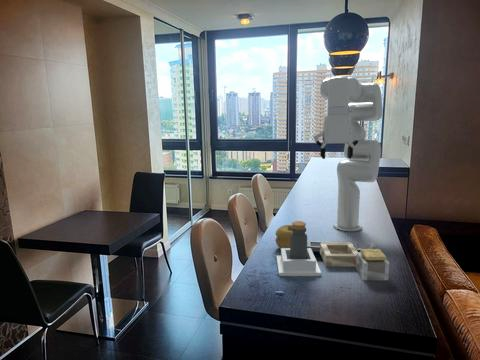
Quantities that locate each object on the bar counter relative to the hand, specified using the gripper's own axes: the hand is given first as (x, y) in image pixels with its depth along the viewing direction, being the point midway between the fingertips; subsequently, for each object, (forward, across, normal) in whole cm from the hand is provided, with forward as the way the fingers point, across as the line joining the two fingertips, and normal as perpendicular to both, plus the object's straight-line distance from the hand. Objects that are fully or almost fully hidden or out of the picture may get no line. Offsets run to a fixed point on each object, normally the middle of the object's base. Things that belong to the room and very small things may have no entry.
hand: (336, 158), depth 132 cm
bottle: (+35, +16, +16) cm, 42 cm away
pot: (+36, +17, 0) cm, 40 cm away
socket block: (+36, -3, +15) cm, 39 cm away
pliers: (+37, -11, +1) cm, 38 cm away
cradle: (+36, +16, +16) cm, 43 cm away
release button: (+35, -8, +22) cm, 42 cm away
